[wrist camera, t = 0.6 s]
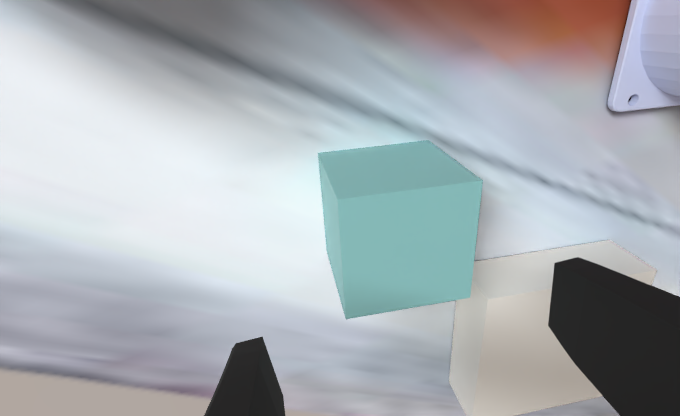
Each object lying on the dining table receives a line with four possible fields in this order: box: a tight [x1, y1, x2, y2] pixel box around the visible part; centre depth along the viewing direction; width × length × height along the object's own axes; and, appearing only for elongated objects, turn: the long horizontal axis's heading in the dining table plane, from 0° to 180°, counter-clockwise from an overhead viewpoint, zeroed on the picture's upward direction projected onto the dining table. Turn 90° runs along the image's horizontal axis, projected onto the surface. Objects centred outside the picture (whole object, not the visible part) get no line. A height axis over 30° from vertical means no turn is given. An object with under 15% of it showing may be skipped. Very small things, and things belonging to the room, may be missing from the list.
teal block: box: [318, 140, 483, 319], centre depth 16 cm, size 5×5×5 cm
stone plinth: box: [449, 240, 657, 416], centre depth 22 cm, size 9×9×3 cm
